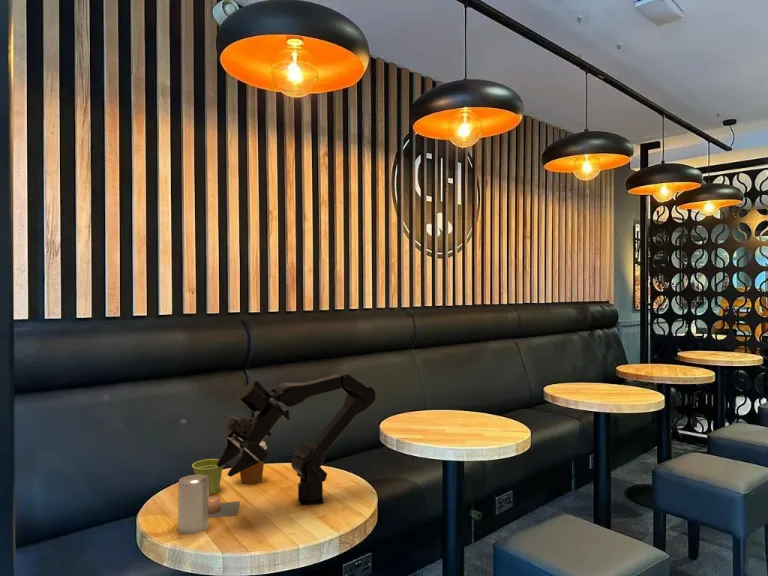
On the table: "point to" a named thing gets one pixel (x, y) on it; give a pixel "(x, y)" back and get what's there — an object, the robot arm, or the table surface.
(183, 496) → the brushed metal canister
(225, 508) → the charcoal mat
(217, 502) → the pink squat rounded piece
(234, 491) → the table surface
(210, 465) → the plant pot
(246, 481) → the disposable coffee cup
